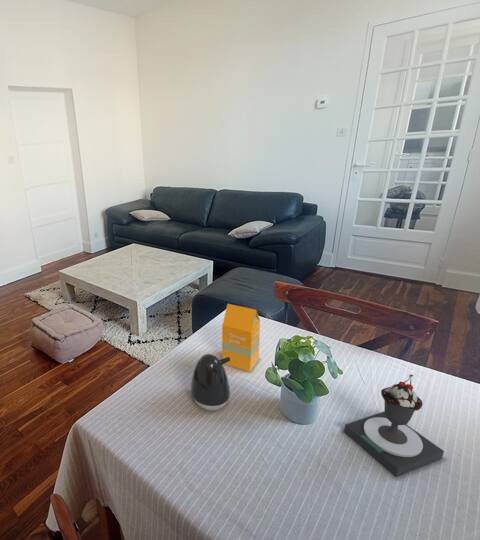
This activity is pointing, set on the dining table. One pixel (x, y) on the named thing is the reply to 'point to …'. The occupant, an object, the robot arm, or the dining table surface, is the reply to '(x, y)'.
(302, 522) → the dining table surface
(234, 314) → the orange juice
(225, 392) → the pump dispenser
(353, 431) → the scale
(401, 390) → the sundae
